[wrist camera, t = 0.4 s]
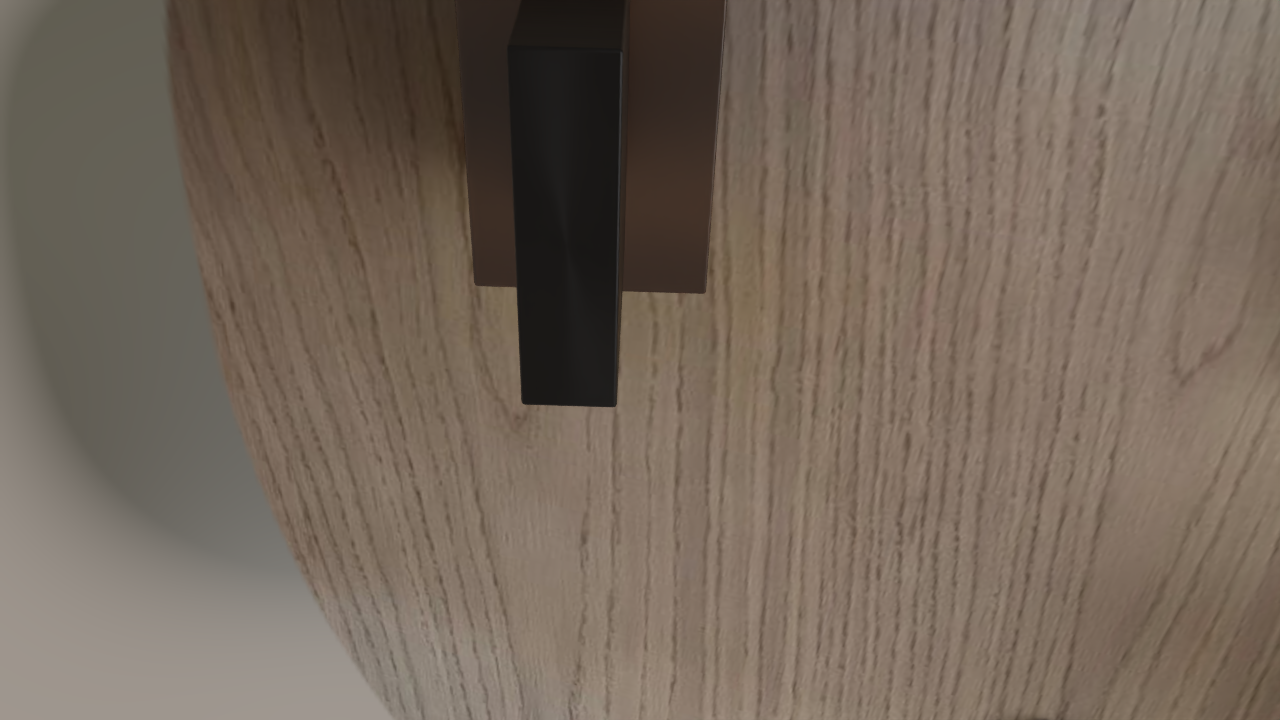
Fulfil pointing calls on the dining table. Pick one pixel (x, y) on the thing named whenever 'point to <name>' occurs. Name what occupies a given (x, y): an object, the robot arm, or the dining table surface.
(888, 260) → the dining table surface
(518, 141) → the black and grey slab
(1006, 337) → the dining table surface
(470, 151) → the knife block
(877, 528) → the dining table surface
